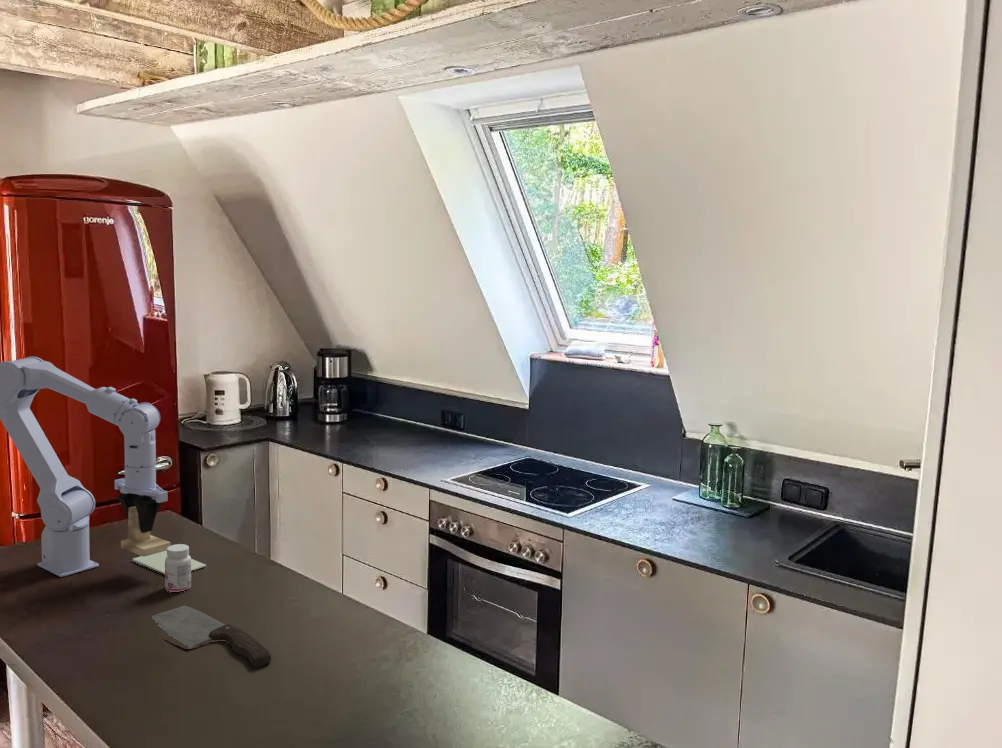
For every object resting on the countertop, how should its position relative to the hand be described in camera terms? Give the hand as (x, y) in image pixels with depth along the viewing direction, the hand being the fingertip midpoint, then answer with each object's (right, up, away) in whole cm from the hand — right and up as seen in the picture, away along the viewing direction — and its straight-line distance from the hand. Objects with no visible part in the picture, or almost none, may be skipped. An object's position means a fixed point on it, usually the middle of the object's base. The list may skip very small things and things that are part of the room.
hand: (141, 529), depth 166 cm
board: (+3, -9, +6) cm, 11 cm away
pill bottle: (+10, -11, -6) cm, 16 cm away
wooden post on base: (+1, -4, -1) cm, 4 cm away
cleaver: (+23, -15, -25) cm, 37 cm away
